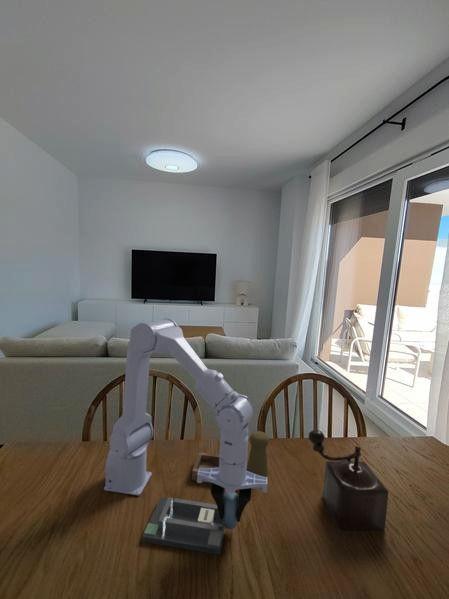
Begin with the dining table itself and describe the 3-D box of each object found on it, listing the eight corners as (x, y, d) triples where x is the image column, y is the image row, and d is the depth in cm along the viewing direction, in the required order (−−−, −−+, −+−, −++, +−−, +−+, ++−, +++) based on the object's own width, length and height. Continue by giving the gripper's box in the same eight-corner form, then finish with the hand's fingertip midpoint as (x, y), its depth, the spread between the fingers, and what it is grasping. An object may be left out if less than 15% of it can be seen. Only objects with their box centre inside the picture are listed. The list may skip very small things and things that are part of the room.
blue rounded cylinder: (222, 528, 61) (223, 501, 61) (223, 516, 64) (224, 490, 64) (236, 529, 61) (238, 503, 60) (237, 517, 64) (238, 492, 63)
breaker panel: (142, 541, 60) (142, 527, 59) (160, 501, 70) (161, 489, 70) (220, 555, 58) (221, 540, 57) (227, 512, 68) (227, 499, 68)
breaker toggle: (197, 528, 62) (197, 520, 61) (200, 514, 65) (201, 507, 65) (211, 530, 61) (211, 522, 61) (214, 517, 65) (214, 509, 64)
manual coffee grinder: (359, 492, 76) (366, 426, 74) (386, 530, 65) (394, 454, 63) (301, 493, 75) (306, 426, 73) (317, 532, 64) (324, 454, 62)
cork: (267, 480, 79) (270, 441, 78) (245, 476, 80) (247, 438, 79) (268, 466, 85) (271, 429, 84) (247, 462, 86) (249, 426, 85)
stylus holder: (192, 480, 78) (192, 470, 77) (198, 460, 86) (199, 452, 85) (221, 484, 77) (222, 474, 76) (226, 464, 85) (226, 455, 84)
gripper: (194, 463, 58) (192, 527, 59) (268, 473, 56) (264, 539, 57) (202, 443, 65) (199, 500, 66) (268, 451, 63) (264, 510, 64)
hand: (230, 516), depth 62 cm, fingers closed on blue rounded cylinder, 3 cm apart
